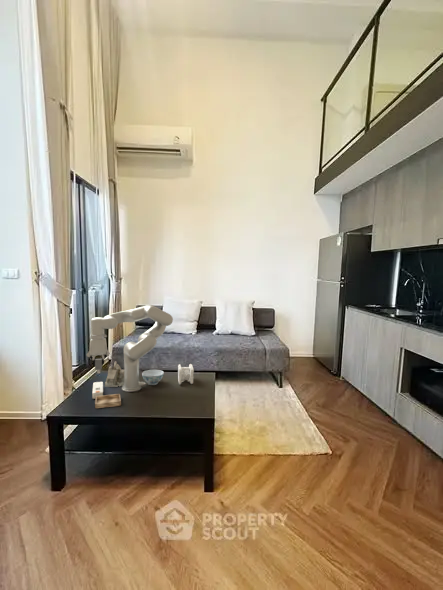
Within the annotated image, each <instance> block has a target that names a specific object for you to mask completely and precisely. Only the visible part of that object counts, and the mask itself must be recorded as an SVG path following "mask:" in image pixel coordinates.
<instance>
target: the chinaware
mask: <svg viewBox="0 0 443 590" xmlns="http://www.w3.org/2000/svg"><path fill="white" fill-rule="evenodd" d="M164 374H165V372H164V371H163V370H160V369H149V370H144V371H143V372H141V375H142V378H143V381H144V382H146V384H147V385H150V386H155V385H158V383H159V382H160V381H161V380H162V379H163V377H164Z"/></svg>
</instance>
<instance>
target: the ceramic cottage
mask: <svg viewBox="0 0 443 590" xmlns="http://www.w3.org/2000/svg"><path fill="white" fill-rule="evenodd" d="M113 364H114V365H113V367H112V366H108V371H107V377H106V379H105V382H104V387H105V388H118V386H119V387H122V386H124V368H123V369H122V367H121V366H120V365H119V363H117V361H114V363H113Z"/></svg>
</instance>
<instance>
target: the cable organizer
mask: <svg viewBox="0 0 443 590" xmlns="http://www.w3.org/2000/svg"><path fill="white" fill-rule="evenodd" d="M181 365H182V364H178V366H177V380H178V385H181V384H182V383H185V381H187V382H189V383H190V385H192V384H194V372H195V370H194V367H193V364H192V363H190V364H189V365H188V366H181Z"/></svg>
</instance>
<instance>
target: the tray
mask: <svg viewBox="0 0 443 590" xmlns="http://www.w3.org/2000/svg"><path fill="white" fill-rule="evenodd" d="M120 406H122V399H121V393H114V394H106V395H104V394H103V396H96V399H95V400H94V408H95V409H101V408H102V409H103V408H109V407H110V408H111V407H120Z"/></svg>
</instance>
